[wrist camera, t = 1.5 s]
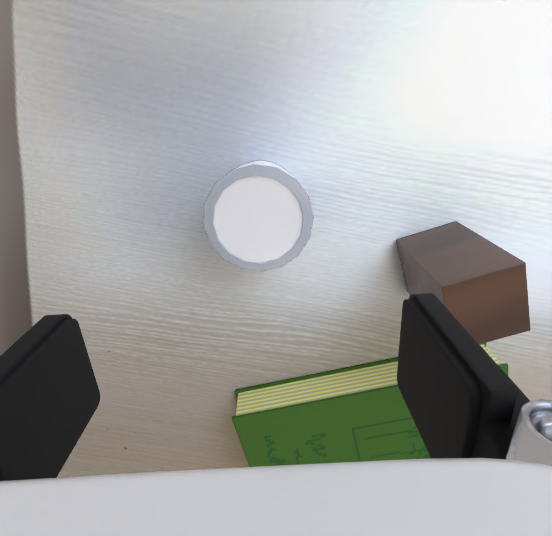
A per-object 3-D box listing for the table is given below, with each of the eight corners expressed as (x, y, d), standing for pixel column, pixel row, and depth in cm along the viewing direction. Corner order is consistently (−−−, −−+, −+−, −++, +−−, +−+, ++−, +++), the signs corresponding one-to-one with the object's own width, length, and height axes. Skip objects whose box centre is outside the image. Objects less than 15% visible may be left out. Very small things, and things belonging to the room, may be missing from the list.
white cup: (317, 216, 30) (330, 245, 24) (242, 251, 31) (235, 288, 25) (281, 135, 28) (284, 143, 21) (201, 176, 29) (181, 195, 22)
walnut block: (396, 239, 31) (441, 286, 23) (456, 220, 30) (525, 262, 22) (407, 290, 33) (453, 351, 25) (463, 274, 32) (530, 330, 24)
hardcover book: (278, 512, 44) (279, 546, 41) (235, 389, 37) (231, 418, 33) (494, 474, 42) (514, 507, 39) (492, 338, 35) (517, 363, 32)
